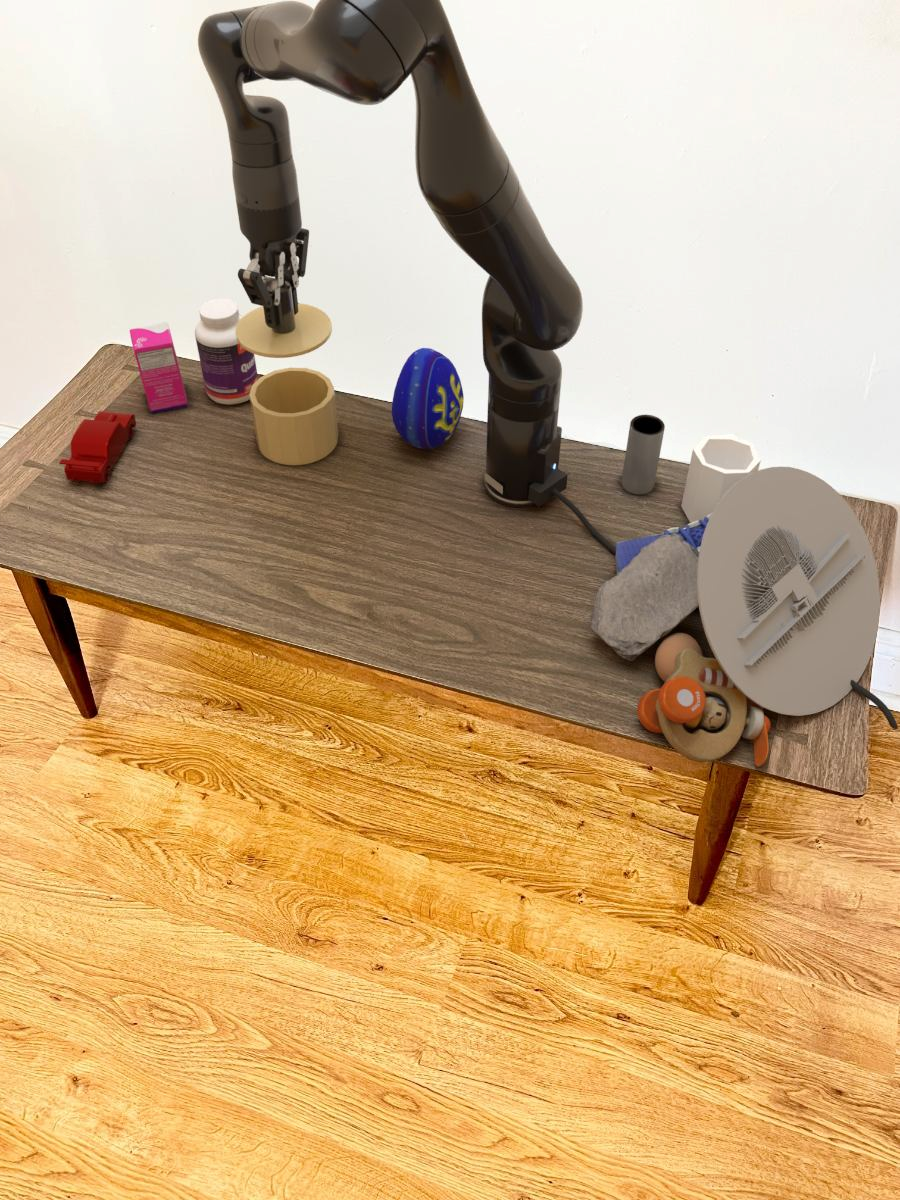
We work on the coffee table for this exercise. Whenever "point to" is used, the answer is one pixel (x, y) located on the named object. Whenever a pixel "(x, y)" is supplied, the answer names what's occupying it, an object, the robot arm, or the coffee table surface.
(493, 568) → the coffee table surface
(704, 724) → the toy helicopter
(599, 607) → the stone
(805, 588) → the plate
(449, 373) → the ornament
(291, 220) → the robot arm
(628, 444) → the grey hollow tube
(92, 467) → the toy car
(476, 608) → the coffee table surface
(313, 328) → the lid
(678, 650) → the egg
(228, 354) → the pill bottle
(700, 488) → the mug
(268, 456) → the pot
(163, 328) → the supplement box
